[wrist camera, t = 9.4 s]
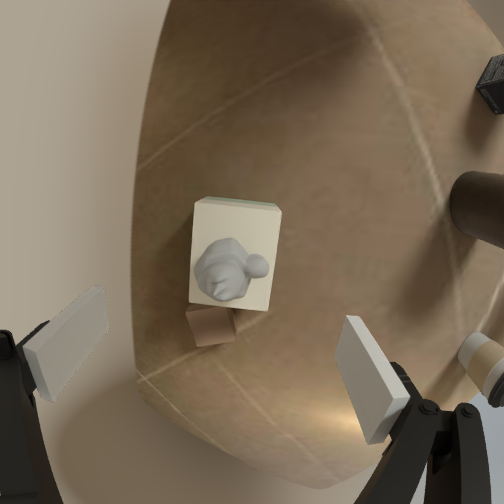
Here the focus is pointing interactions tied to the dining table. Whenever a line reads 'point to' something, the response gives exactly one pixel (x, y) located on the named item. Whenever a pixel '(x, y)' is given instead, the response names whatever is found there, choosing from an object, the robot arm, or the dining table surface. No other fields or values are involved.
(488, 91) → the small box
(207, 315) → the brick
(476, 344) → the coffee cup
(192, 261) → the cream and green box
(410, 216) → the dining table surface
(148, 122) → the dining table surface
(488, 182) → the pillar candle
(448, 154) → the dining table surface
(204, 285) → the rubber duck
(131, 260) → the dining table surface
